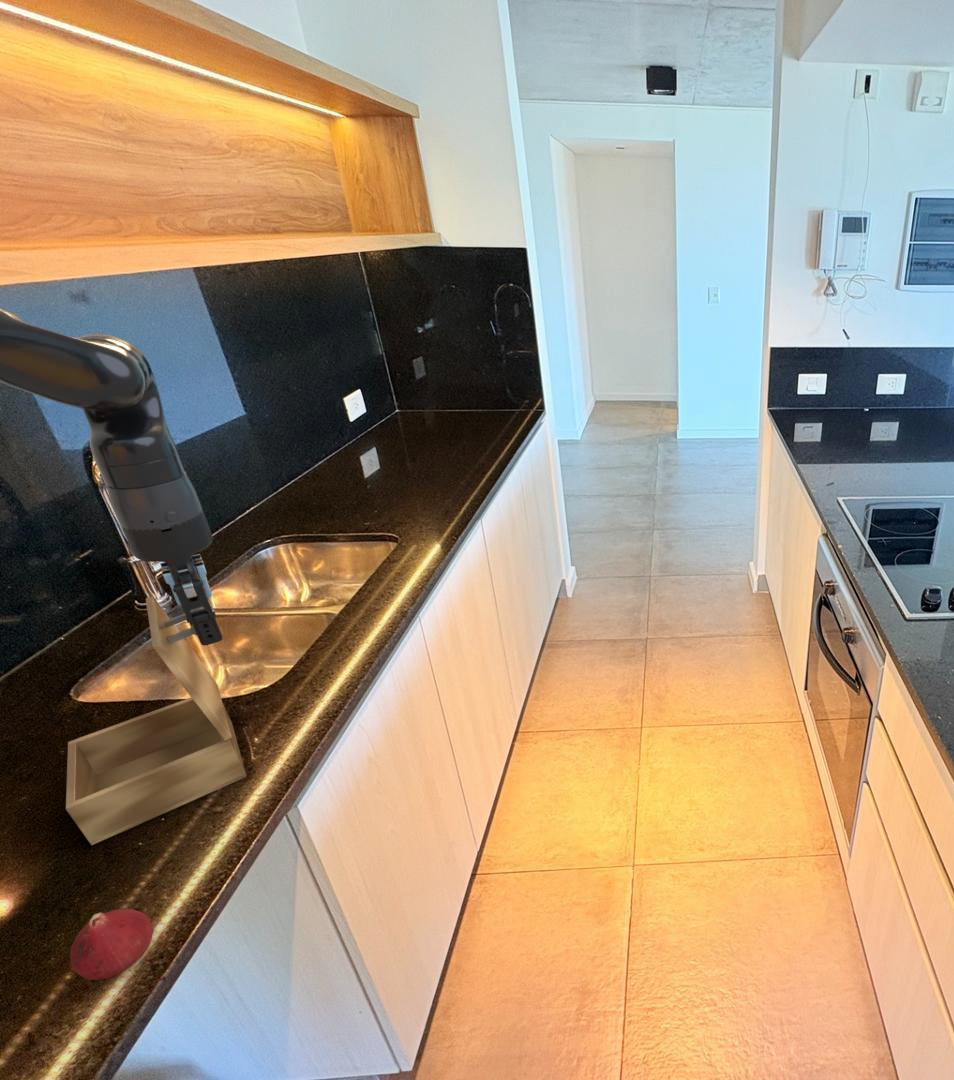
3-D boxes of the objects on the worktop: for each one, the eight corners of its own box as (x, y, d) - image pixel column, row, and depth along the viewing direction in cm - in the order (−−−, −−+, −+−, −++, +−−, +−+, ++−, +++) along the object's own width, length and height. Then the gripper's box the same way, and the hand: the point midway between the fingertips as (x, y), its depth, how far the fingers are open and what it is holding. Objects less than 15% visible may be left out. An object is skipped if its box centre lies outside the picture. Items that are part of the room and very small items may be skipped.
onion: (115, 1005, 60) (76, 958, 56) (76, 983, 61) (35, 937, 57) (178, 945, 64) (146, 899, 61) (141, 927, 66) (107, 880, 62)
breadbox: (92, 847, 74) (65, 809, 71) (91, 778, 83) (67, 741, 80) (247, 778, 84) (229, 741, 80) (232, 723, 92) (215, 688, 89)
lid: (152, 647, 71) (203, 626, 74) (145, 598, 80) (191, 581, 83) (225, 741, 80) (268, 719, 83) (211, 687, 89) (250, 669, 91)
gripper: (117, 501, 75) (167, 617, 83) (121, 544, 66) (178, 670, 73) (194, 488, 80) (235, 598, 87) (208, 526, 70) (253, 646, 78)
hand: (209, 630), depth 80 cm, fingers closed on lid, 5 cm apart
